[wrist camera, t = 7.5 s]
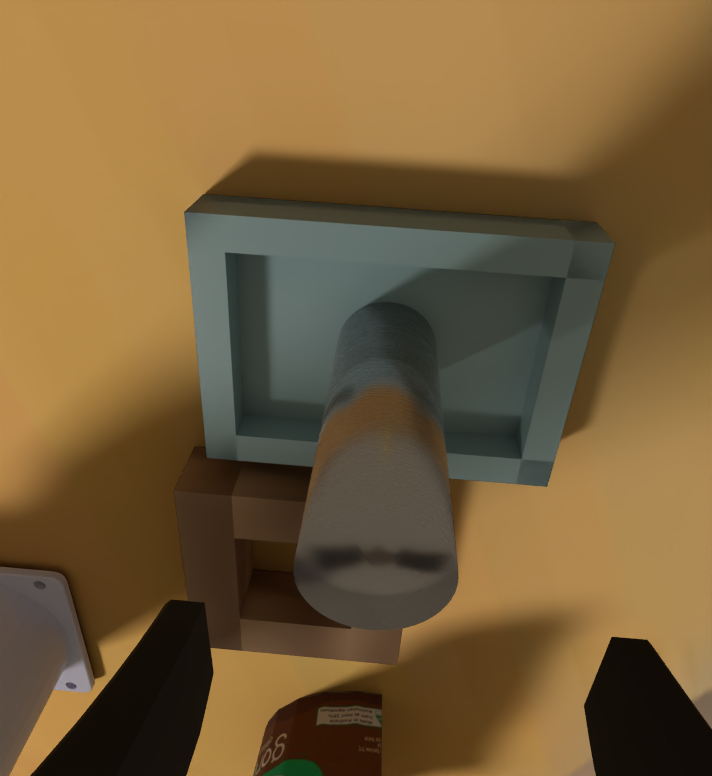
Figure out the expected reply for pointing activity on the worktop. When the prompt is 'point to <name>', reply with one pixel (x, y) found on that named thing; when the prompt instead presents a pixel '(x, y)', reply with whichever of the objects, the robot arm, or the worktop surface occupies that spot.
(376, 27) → the worktop surface
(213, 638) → the holder
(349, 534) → the pin
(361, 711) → the food container
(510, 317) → the tray
